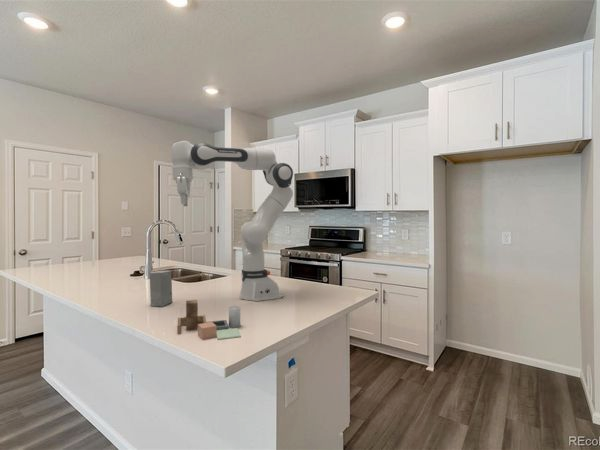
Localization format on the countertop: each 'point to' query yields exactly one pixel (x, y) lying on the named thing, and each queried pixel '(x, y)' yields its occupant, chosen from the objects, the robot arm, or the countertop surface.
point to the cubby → (183, 322)
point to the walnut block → (191, 315)
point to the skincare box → (160, 288)
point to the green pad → (228, 333)
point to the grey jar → (234, 317)
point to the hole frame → (221, 324)
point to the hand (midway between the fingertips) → (184, 205)
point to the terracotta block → (207, 330)
